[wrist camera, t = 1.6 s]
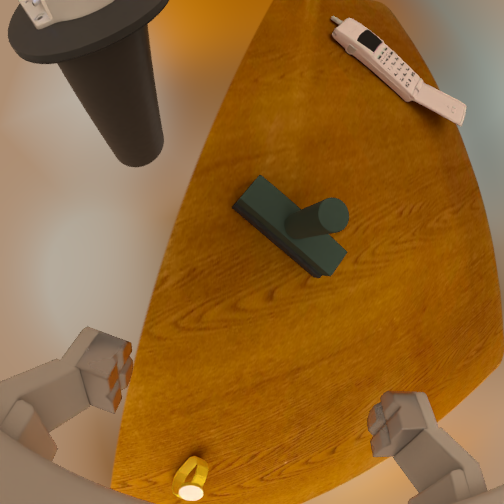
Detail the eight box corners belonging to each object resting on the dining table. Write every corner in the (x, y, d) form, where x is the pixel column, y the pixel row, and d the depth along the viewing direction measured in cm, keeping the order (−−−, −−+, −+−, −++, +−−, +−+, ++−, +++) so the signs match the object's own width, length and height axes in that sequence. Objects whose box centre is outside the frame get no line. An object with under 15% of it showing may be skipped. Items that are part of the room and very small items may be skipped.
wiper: (231, 207, 32) (255, 179, 21) (254, 180, 33) (288, 141, 21) (314, 277, 34) (372, 285, 22) (333, 250, 35) (396, 245, 23)
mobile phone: (462, 128, 33) (332, 7, 30) (437, 140, 39) (316, 31, 35) (468, 107, 34) (348, -5, 30) (445, 118, 40) (332, 17, 36)
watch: (185, 481, 30) (186, 511, 24) (166, 473, 30) (165, 502, 24) (211, 455, 31) (216, 484, 25) (192, 446, 31) (194, 475, 25)
